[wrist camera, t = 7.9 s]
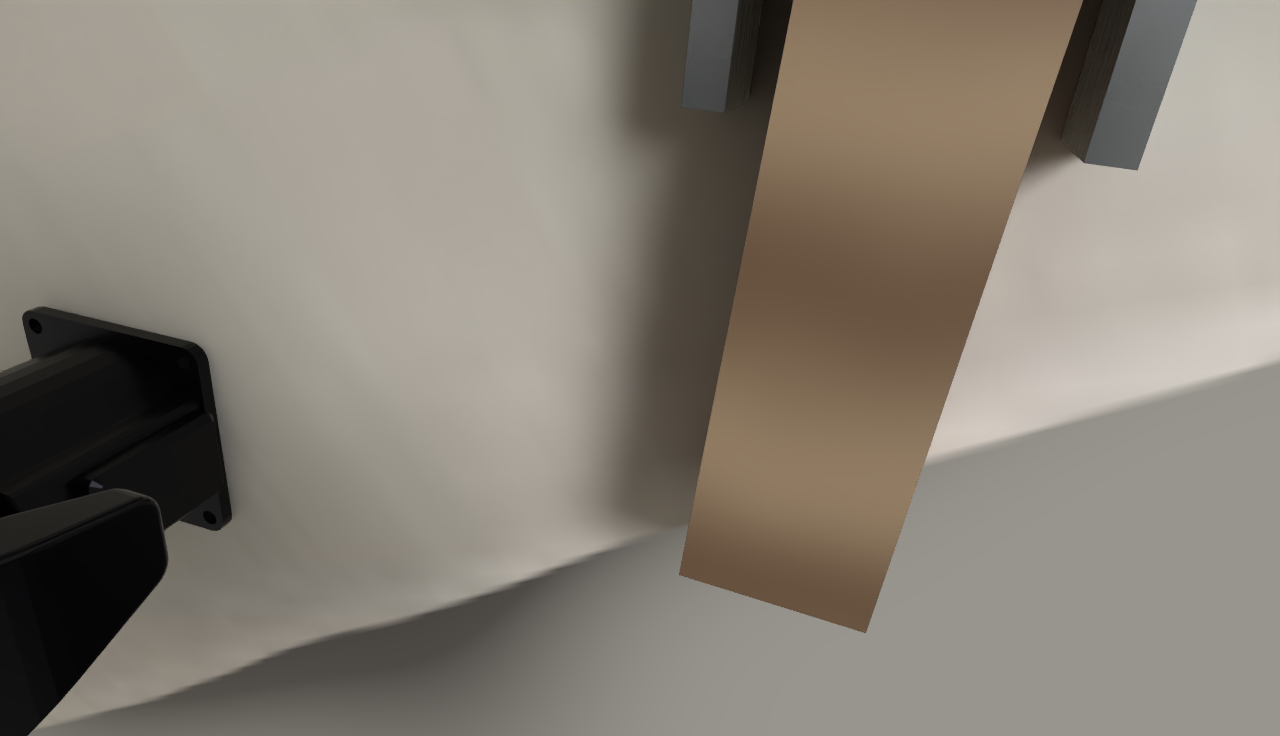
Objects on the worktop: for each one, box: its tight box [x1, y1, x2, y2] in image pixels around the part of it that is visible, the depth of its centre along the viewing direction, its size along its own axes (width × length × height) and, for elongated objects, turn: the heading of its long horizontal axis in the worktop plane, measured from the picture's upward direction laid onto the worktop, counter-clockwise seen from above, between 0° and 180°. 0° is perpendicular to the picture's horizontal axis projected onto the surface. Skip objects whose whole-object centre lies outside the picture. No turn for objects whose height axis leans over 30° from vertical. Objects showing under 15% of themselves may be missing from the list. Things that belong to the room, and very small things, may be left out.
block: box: [679, 0, 1083, 633], centre depth 16 cm, size 14×4×4 cm, turn 172°
